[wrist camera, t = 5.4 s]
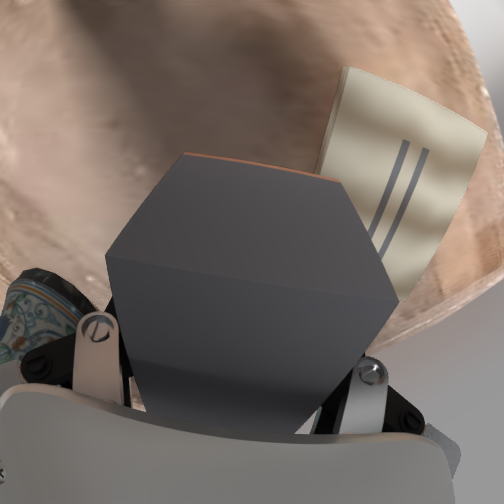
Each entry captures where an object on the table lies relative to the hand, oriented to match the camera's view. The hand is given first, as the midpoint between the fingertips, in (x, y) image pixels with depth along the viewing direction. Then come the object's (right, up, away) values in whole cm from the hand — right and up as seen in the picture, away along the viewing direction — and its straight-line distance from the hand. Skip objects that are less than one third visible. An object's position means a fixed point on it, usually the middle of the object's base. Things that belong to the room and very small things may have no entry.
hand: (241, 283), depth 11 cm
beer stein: (-28, -8, +26) cm, 39 cm away
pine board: (+12, +6, +13) cm, 19 cm away
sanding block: (0, +1, +1) cm, 1 cm away
